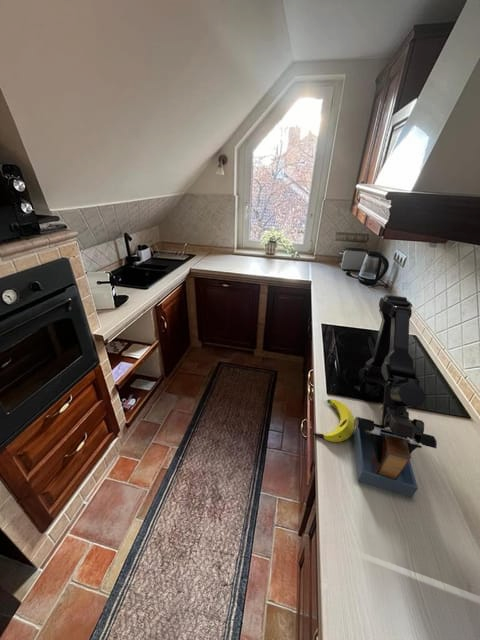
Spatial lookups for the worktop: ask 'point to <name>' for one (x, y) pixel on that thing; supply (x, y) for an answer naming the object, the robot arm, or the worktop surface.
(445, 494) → the worktop surface
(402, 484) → the blue tray
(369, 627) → the worktop surface
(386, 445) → the brown wooden block
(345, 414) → the banana
